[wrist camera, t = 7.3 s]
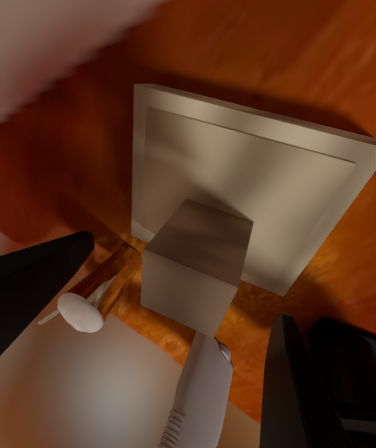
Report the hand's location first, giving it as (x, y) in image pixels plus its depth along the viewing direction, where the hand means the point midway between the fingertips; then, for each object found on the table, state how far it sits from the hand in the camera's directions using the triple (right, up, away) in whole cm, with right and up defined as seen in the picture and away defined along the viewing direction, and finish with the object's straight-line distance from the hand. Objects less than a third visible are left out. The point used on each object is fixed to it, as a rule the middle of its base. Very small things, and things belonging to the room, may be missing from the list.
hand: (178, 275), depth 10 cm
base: (+4, +5, +8) cm, 10 cm away
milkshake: (-7, -1, +17) cm, 18 cm away
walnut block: (+2, +1, +7) cm, 8 cm away
